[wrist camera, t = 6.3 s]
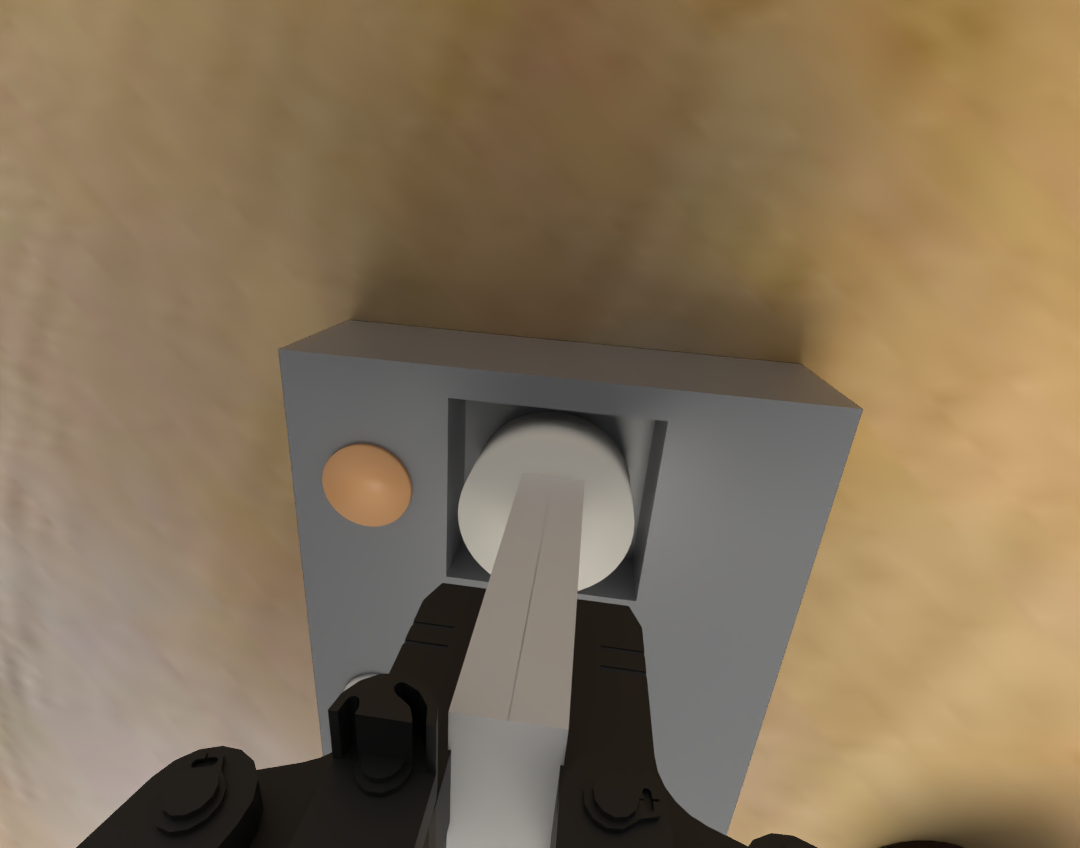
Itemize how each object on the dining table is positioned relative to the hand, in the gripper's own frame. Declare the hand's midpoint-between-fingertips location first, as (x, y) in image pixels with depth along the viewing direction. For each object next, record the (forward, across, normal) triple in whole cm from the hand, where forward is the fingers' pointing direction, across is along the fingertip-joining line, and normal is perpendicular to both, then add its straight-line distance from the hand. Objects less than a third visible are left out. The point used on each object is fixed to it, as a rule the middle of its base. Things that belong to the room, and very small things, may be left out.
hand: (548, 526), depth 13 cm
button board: (+5, 0, -8) cm, 9 cm away
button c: (+2, 0, 0) cm, 2 cm away
